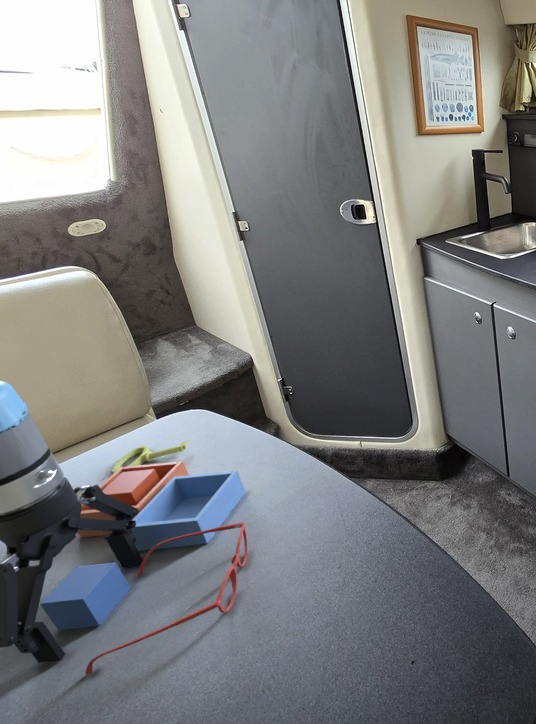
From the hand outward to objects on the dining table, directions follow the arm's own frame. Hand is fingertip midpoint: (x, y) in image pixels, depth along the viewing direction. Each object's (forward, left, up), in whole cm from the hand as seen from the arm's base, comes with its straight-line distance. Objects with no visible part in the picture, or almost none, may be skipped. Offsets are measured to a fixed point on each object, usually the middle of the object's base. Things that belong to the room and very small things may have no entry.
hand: (96, 607), depth 71 cm
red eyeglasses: (+12, 0, 0) cm, 12 cm away
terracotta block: (-8, +19, 0) cm, 21 cm away
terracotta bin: (-8, +19, 0) cm, 21 cm away
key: (-16, +32, 0) cm, 36 cm away
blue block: (0, 0, 0) cm, 0 cm away
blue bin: (+4, +15, 0) cm, 15 cm away
